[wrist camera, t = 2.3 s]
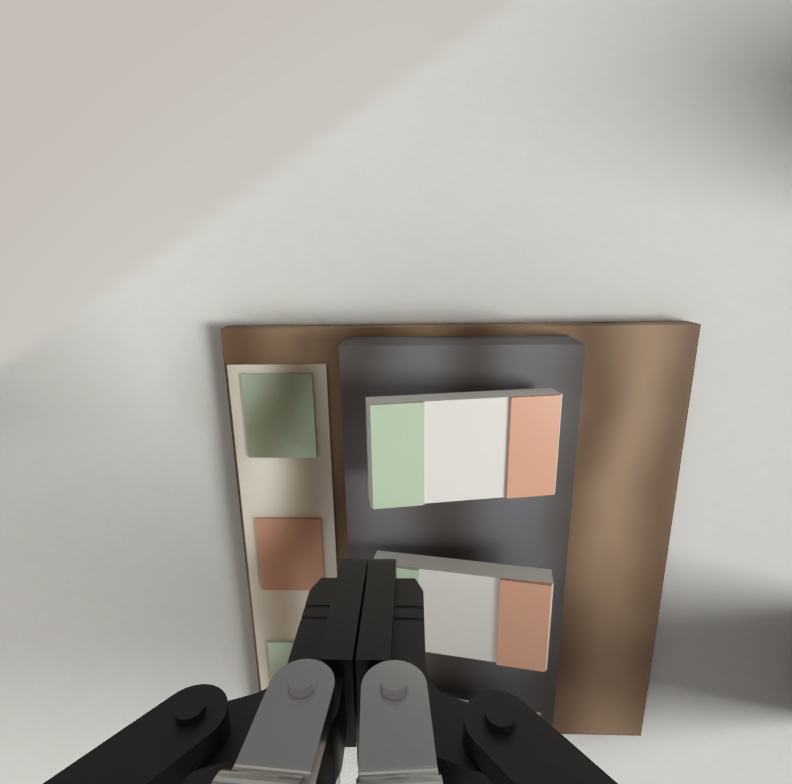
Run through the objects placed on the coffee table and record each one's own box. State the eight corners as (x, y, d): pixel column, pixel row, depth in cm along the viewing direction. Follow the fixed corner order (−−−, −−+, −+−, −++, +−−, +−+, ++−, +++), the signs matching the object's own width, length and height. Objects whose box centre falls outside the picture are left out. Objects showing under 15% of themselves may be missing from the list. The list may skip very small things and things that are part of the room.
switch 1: (551, 387, 24) (563, 394, 23) (544, 482, 25) (556, 494, 24) (365, 397, 23) (367, 405, 22) (368, 496, 24) (371, 509, 23)
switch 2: (551, 569, 25) (553, 586, 24) (545, 652, 26) (547, 672, 25) (377, 550, 27) (370, 565, 25) (379, 628, 28) (373, 646, 27)
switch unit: (688, 321, 28) (749, 335, 23) (633, 719, 35) (669, 796, 30) (228, 326, 29) (189, 340, 24) (268, 712, 36) (244, 785, 31)
